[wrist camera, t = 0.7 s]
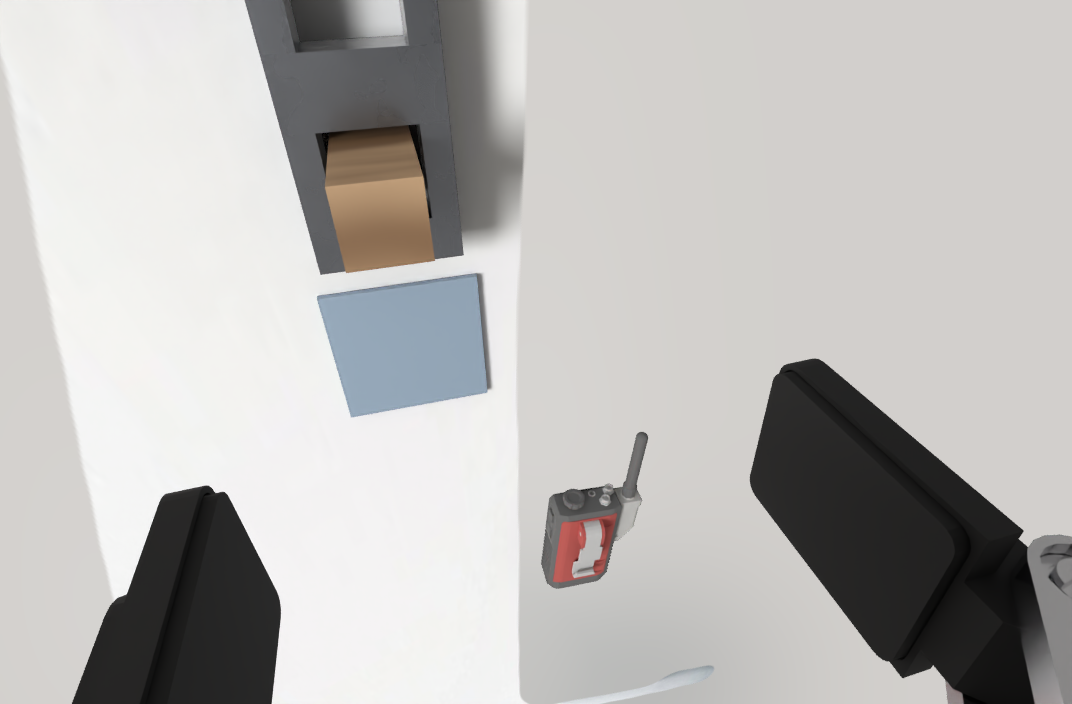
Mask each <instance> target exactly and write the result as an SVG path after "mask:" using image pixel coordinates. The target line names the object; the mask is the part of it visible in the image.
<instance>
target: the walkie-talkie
mask: <svg viewBox="0 0 1072 704" xmlns="http://www.w3.org/2000/svg"><path fill="white" fill-rule="evenodd" d="M647 440H648V436H647V434H646V433H644V432H639V433H638V434H637V435H636V440H635V444H634V448H633V452H632V457H631V461H630V465H629V469H628V474H627V478H626V481H625V482H624V484H623V487H620V488H613V486H612V485H611V484H606V485H605V486H601V487H595V488H588V489H582V490H577V489H570V490H567V491H566V492H563V493H557V494H553V495H552V496H551V497H550V498H549V504H548V512H547V520H546V529H545V536H544V538H545V539H544V544H543V545H544V546H543V553H542V560H541V561H542V562H541V564H542V568H543V571H544V574H545V578H546V581H547V584H549V585H550V586H552V587H553V588H564V587H570V586H575V585H579V584H584V583H589V582H594V581H597V580H599V579H600V578H601V577H602V576H603V575H604V574H605V573H606V572H607V566H608V563H609V560H610V556H611V555H610V554H611V550H612V546H613V543H614V541H617V540H619V539H620V538H621V537H622V536H623V535H625V534H626V533H627V532H628V531H629V530H630V529H631V528H632V527H633V525H634V521H635V518H636V514H637V510H638V507H639V506H640V505H641V501H642V499H641V497H640V495H639V493H638V491H637V485H636V483H637V479H638V475H639V472H640V468H641V464H642V460H643V456H644V452H645V448H646V444H647Z"/></svg>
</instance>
